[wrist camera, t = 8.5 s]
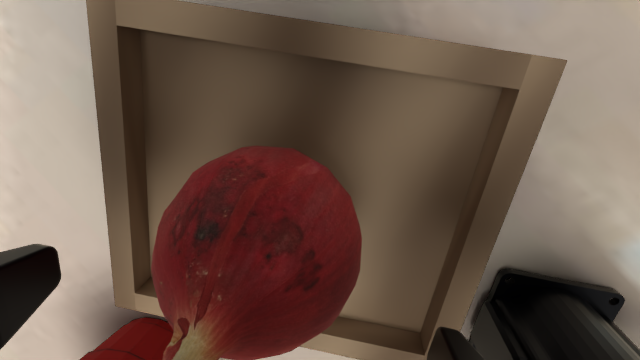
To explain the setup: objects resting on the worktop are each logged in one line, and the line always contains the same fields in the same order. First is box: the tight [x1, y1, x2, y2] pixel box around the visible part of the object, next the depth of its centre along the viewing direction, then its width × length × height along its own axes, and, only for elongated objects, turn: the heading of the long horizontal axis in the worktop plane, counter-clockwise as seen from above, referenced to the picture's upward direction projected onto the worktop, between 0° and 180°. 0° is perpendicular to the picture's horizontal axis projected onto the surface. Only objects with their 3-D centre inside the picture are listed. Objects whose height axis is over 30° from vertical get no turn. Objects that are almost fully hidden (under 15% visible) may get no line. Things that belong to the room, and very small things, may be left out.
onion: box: [151, 146, 362, 360], centre depth 9 cm, size 6×6×8 cm
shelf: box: [86, 0, 567, 360], centre depth 15 cm, size 15×13×6 cm
